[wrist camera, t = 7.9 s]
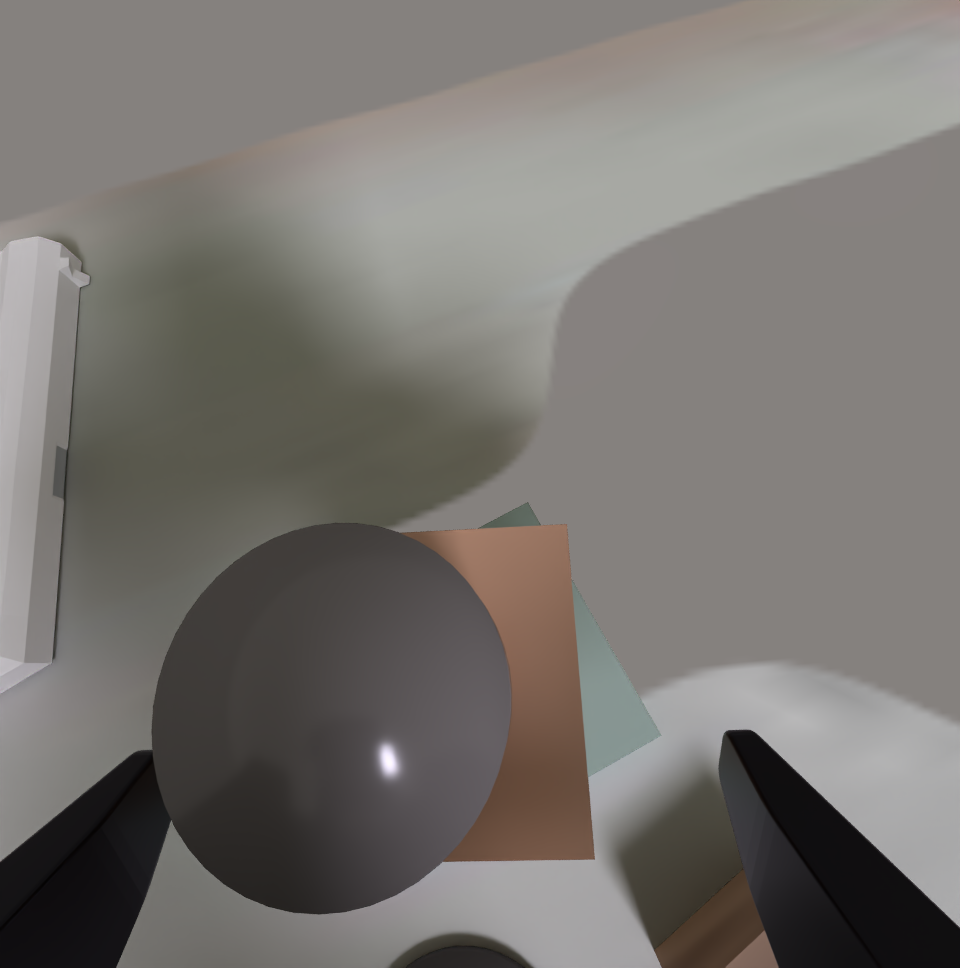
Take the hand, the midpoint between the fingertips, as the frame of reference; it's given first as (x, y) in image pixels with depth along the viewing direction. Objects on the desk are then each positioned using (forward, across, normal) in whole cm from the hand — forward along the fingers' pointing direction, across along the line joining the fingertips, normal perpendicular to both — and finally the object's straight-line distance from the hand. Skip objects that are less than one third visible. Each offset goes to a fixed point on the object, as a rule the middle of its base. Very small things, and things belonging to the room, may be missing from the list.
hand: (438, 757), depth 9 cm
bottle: (+7, 0, +5) cm, 8 cm away
